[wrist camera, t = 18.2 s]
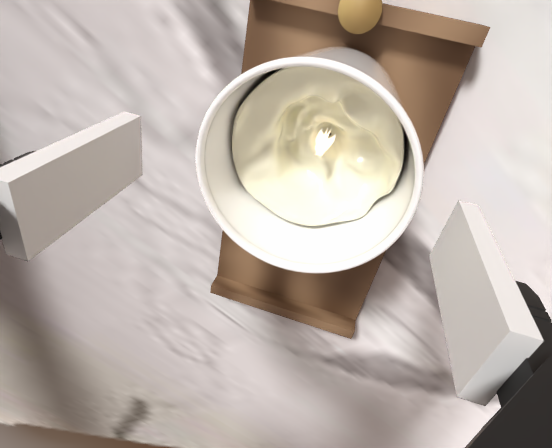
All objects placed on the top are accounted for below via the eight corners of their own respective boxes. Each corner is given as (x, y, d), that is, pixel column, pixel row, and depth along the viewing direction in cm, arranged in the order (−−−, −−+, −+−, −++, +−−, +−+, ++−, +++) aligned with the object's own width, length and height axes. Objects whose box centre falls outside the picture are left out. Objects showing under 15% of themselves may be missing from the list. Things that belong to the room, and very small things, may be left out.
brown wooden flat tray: (220, 276, 38) (208, 296, 35) (259, -38, 23) (244, -42, 21) (353, 319, 36) (350, 342, 34) (486, 11, 22) (499, 12, 19)
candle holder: (443, 102, 24) (482, 176, 14) (340, 201, 29) (316, 306, 19) (326, -5, 22) (276, -7, 12) (241, 120, 28) (160, 187, 18)
